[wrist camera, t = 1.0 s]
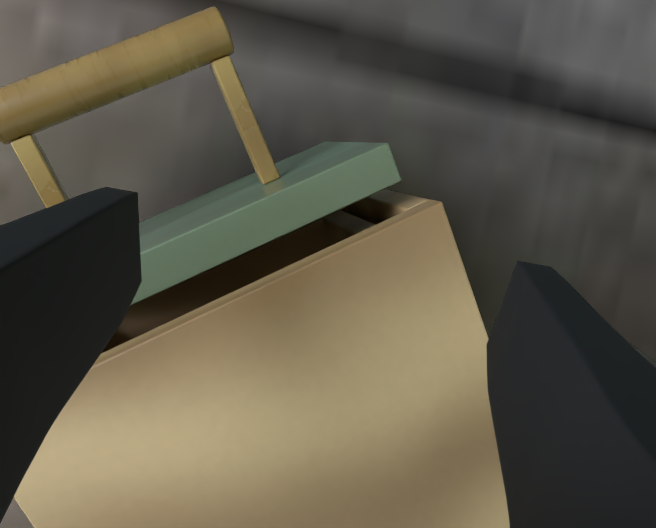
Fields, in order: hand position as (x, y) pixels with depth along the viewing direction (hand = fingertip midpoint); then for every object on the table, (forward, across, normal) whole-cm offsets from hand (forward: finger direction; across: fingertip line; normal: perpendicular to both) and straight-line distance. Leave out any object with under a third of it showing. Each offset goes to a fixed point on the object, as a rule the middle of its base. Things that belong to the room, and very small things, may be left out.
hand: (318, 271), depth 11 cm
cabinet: (+9, +2, +12) cm, 15 cm away
